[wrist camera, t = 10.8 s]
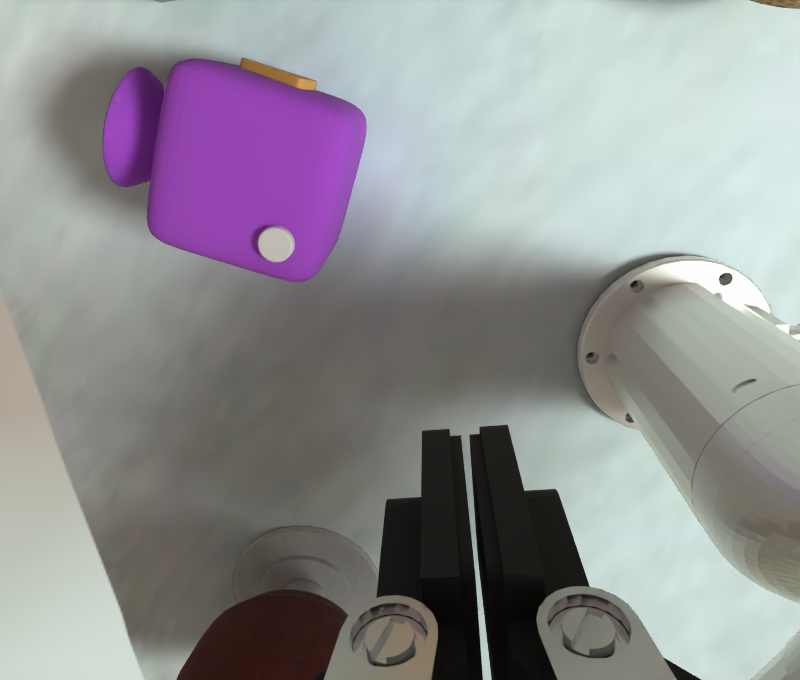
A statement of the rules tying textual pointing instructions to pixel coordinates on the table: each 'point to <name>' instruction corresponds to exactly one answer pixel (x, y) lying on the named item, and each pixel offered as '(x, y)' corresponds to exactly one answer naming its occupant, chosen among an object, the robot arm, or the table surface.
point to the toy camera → (237, 162)
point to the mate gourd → (285, 607)
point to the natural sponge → (781, 3)
